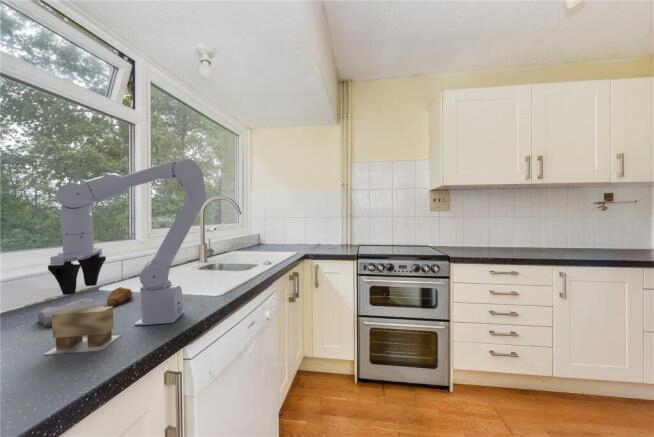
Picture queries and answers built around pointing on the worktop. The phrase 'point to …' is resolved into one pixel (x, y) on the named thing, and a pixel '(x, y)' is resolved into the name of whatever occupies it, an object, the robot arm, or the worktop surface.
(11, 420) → the worktop surface
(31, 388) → the worktop surface
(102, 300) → the worktop surface
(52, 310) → the stone block
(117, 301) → the croissant
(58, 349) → the base with blocks
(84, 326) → the lintel
